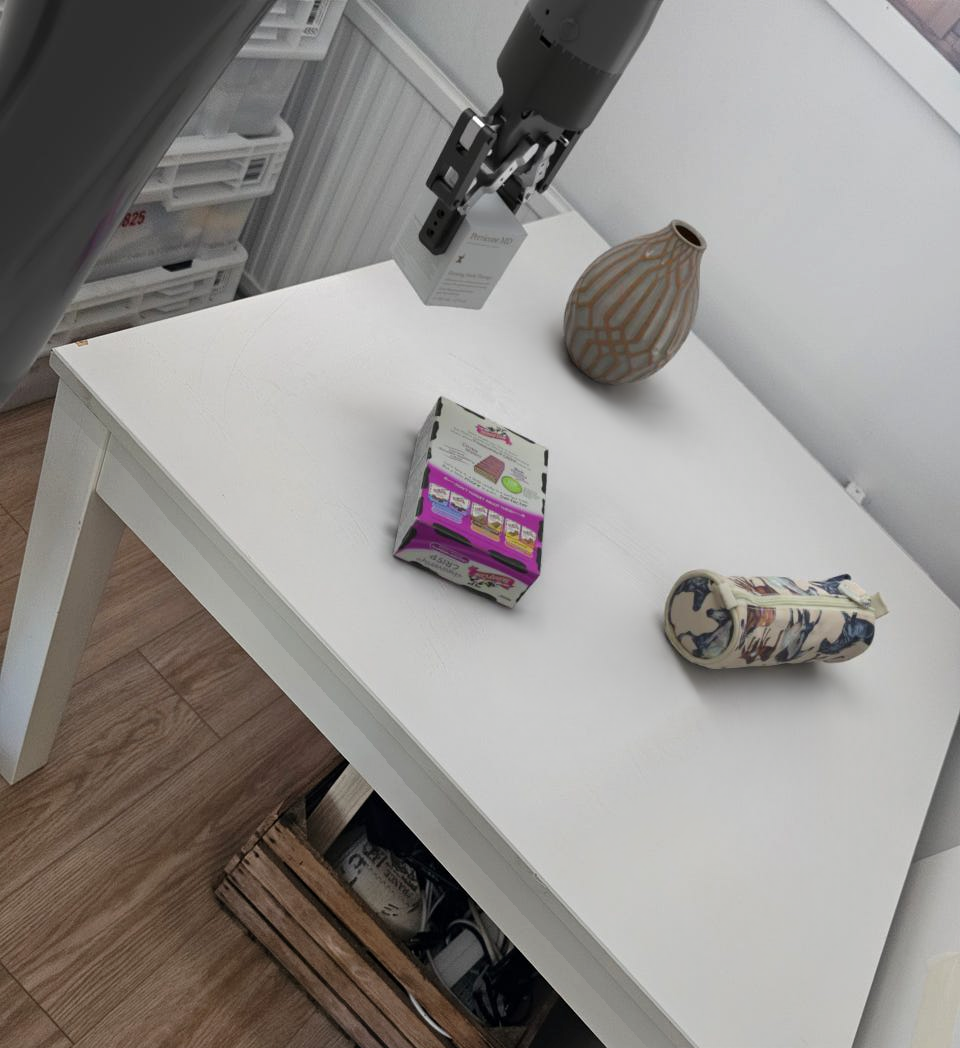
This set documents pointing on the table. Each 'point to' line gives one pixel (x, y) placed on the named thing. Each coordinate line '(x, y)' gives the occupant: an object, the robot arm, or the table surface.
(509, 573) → the candy bar box
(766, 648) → the pencil case
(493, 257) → the product box
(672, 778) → the table surface
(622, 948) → the table surface
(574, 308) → the vase
